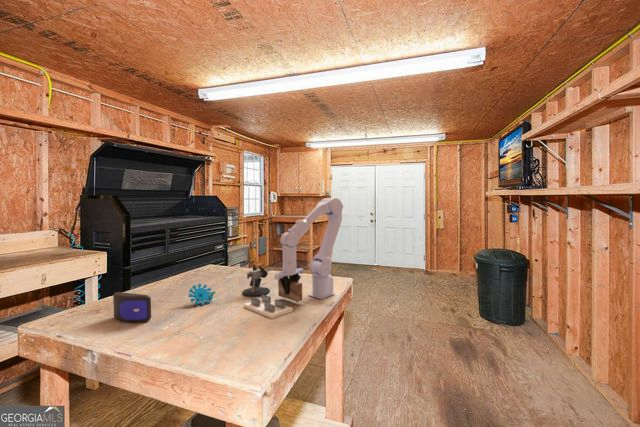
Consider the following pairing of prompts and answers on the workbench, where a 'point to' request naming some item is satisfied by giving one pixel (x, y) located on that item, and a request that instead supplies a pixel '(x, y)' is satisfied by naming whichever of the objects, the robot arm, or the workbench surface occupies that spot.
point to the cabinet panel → (265, 312)
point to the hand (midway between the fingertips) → (290, 293)
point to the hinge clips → (268, 303)
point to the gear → (201, 294)
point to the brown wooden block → (291, 291)
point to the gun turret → (256, 283)
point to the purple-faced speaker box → (131, 307)
